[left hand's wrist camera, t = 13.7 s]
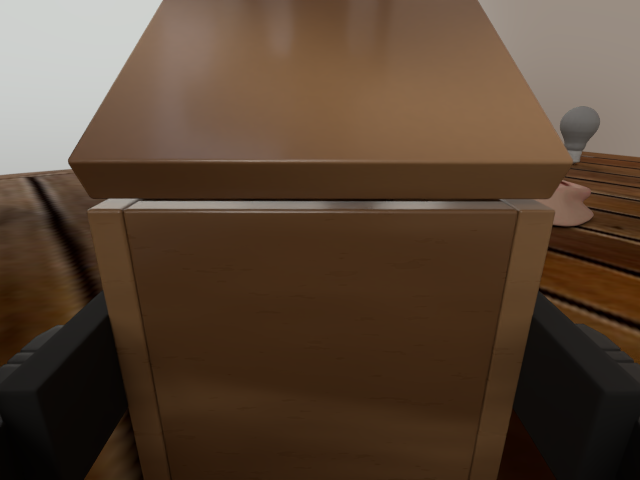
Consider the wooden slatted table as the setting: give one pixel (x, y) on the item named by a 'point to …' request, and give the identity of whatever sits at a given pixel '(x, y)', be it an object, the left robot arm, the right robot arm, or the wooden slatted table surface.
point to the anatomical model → (569, 204)
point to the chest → (320, 332)
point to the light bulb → (578, 129)
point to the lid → (320, 106)
